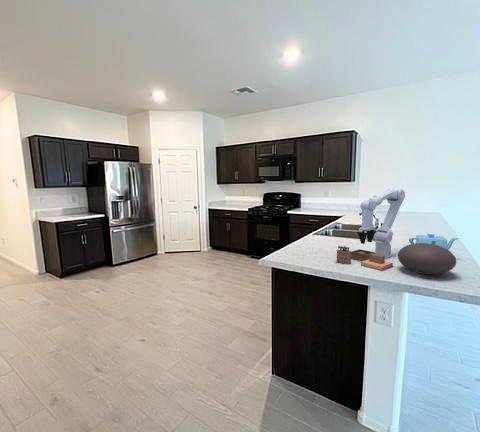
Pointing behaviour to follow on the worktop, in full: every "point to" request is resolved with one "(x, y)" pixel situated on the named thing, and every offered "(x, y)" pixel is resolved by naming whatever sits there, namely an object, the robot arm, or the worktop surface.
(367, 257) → the box
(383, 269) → the mat
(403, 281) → the worktop surface
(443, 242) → the teakettle
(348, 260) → the ornate red tin
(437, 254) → the smooth stone
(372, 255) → the lid
